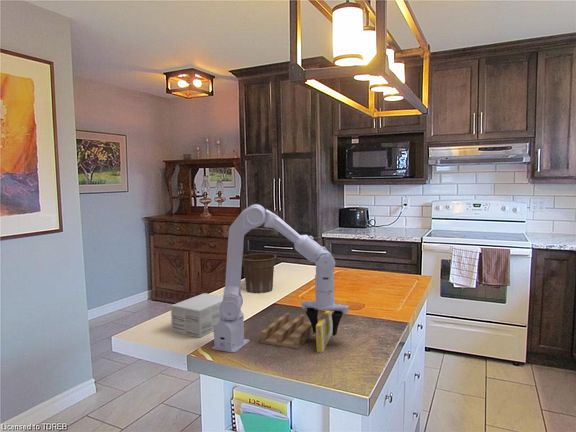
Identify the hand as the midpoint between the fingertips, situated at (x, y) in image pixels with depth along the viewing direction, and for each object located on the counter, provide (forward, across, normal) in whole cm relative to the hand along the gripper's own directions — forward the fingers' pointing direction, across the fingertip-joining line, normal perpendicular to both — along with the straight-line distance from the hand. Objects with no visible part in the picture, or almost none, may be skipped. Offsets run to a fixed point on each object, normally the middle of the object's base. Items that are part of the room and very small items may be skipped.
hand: (325, 333), depth 124 cm
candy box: (+3, 0, 0) cm, 3 cm away
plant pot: (+3, +47, -47) cm, 67 cm away
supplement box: (+3, +44, +2) cm, 44 cm away
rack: (+3, +12, -2) cm, 12 cm away
